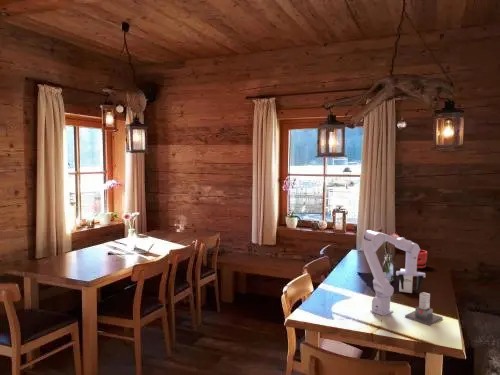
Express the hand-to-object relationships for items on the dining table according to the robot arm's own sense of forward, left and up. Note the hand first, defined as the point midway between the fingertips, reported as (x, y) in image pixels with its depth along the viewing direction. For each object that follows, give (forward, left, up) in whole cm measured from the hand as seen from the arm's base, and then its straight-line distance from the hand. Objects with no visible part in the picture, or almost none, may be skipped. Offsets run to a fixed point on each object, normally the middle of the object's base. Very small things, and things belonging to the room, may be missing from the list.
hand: (409, 289), depth 223 cm
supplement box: (+24, +16, -11) cm, 31 cm away
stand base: (-7, -12, -10) cm, 17 cm away
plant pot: (+79, +39, -11) cm, 89 cm away
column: (-7, -12, -6) cm, 15 cm away
